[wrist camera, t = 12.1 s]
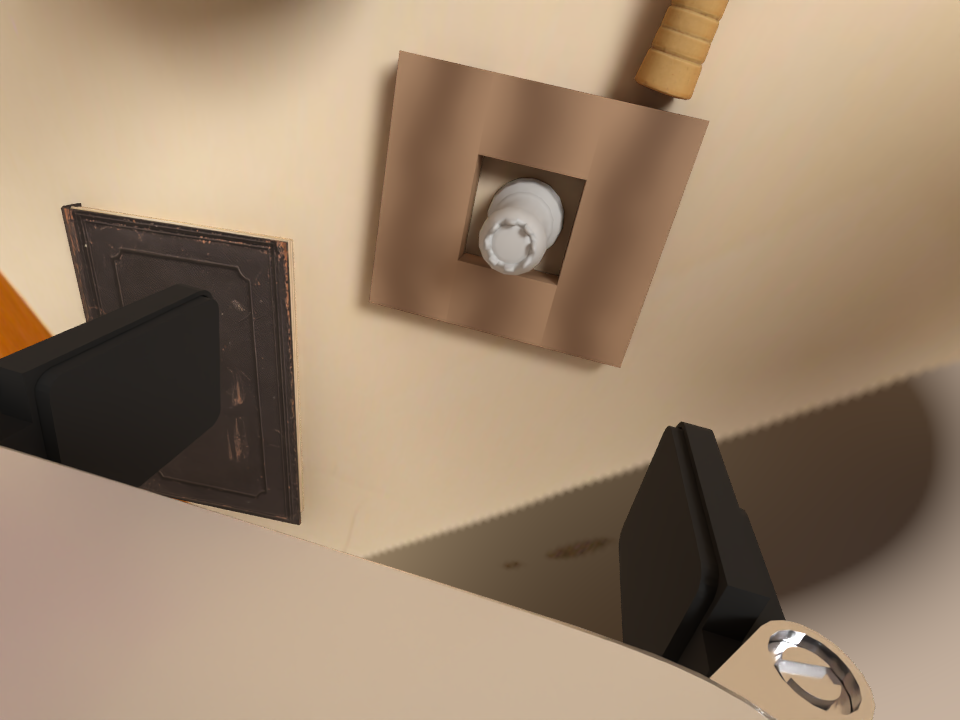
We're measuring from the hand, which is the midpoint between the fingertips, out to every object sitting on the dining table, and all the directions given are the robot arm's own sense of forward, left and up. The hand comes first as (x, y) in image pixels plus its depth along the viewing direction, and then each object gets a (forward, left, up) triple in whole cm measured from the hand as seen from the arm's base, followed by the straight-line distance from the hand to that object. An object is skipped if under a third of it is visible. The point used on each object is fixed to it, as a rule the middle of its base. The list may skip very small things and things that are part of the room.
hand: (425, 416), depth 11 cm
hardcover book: (+21, +17, -25) cm, 37 cm away
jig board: (0, 0, -24) cm, 24 cm away
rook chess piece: (0, 0, -24) cm, 24 cm away
